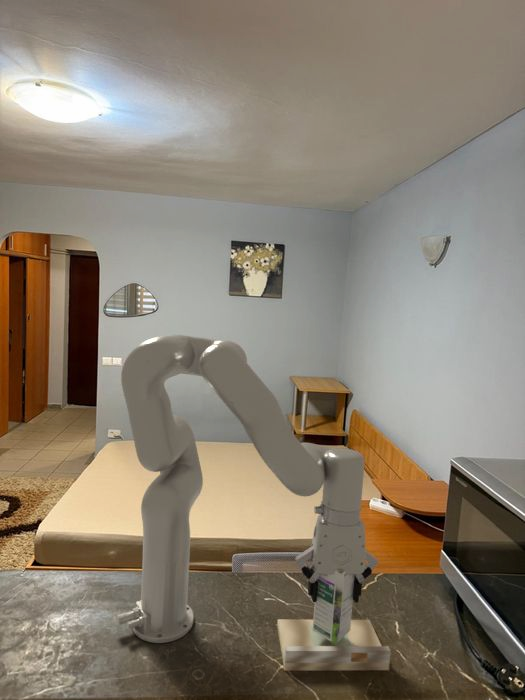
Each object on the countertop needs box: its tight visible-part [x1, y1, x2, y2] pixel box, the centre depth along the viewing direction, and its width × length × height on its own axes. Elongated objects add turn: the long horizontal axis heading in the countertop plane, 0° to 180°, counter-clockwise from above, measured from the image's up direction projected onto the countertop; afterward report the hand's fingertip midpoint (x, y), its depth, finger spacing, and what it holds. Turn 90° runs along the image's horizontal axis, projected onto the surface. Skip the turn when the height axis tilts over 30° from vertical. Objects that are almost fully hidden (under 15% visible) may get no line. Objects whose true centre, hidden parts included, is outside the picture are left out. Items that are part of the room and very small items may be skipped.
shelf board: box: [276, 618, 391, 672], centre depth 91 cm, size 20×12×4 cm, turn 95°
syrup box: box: [312, 570, 355, 644], centre depth 91 cm, size 6×6×14 cm
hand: (334, 597), depth 91 cm, fingers closed on syrup box, 7 cm apart
